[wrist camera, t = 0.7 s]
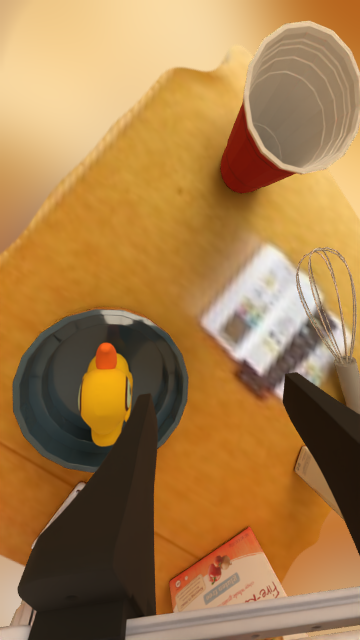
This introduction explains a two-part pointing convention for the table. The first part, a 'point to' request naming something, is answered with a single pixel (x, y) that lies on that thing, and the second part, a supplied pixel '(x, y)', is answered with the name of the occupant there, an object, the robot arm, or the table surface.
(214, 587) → the cracker box
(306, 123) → the plastic cup
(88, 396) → the duckling
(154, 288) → the table surface
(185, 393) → the bowl
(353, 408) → the kitchen whisk
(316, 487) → the cosmetic box
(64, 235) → the table surface
